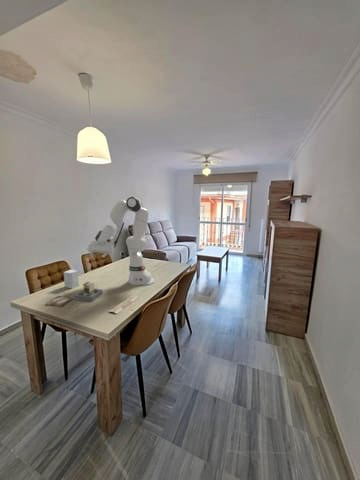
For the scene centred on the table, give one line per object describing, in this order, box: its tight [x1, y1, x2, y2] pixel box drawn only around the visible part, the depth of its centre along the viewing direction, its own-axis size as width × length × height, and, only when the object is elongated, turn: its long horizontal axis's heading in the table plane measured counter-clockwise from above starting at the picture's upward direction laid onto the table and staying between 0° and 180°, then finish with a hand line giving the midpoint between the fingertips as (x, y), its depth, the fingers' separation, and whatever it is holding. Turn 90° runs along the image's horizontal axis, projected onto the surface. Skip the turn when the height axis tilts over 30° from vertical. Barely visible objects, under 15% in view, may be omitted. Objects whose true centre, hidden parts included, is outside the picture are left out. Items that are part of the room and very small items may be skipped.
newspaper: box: [108, 295, 139, 315], centre depth 133 cm, size 24×7×2 cm, turn 159°
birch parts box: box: [82, 281, 95, 296], centre depth 144 cm, size 5×5×10 cm
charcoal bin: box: [74, 288, 103, 302], centre depth 144 cm, size 13×13×3 cm
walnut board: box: [44, 295, 75, 307], centre depth 136 cm, size 12×12×1 cm
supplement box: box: [63, 269, 80, 289], centre depth 161 cm, size 7×7×13 cm
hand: (97, 256), depth 152 cm, fingers open, 8 cm apart
